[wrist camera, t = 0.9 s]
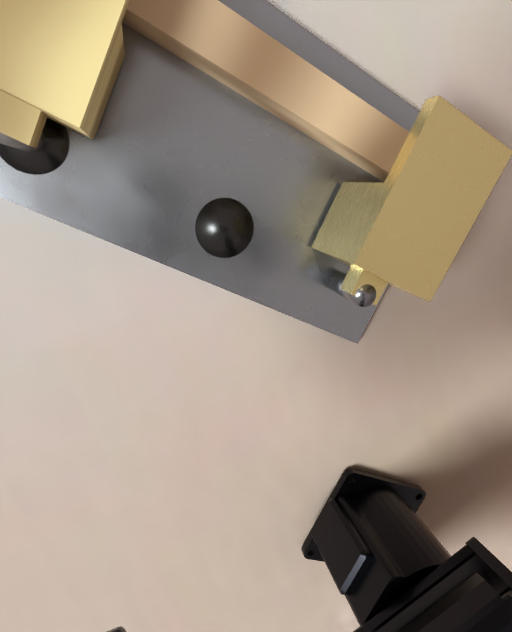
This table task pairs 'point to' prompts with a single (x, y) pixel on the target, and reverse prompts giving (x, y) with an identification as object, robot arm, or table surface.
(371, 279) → the sliding head
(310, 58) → the flange plate
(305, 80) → the divider beam
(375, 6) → the table surface
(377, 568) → the robot arm
